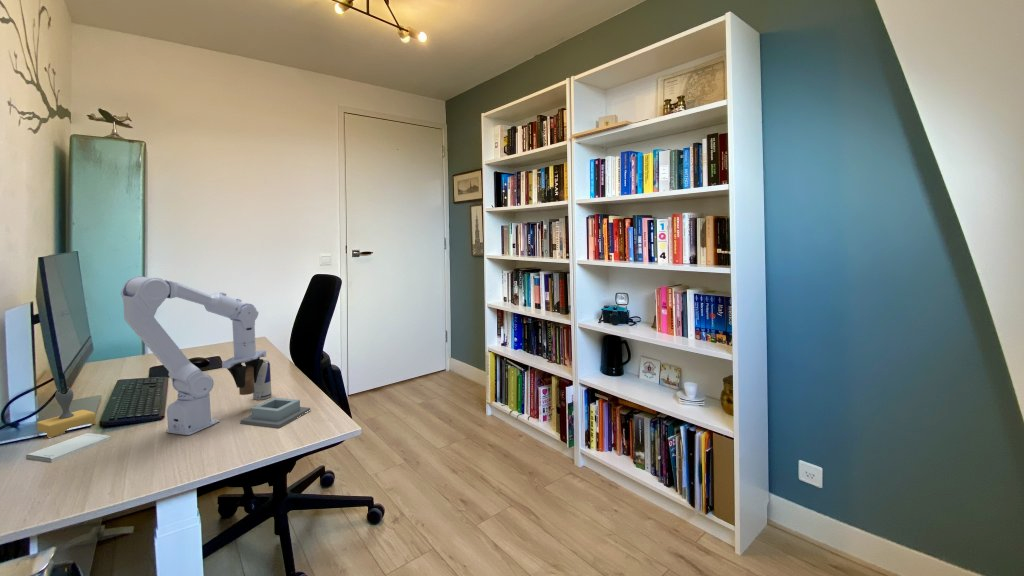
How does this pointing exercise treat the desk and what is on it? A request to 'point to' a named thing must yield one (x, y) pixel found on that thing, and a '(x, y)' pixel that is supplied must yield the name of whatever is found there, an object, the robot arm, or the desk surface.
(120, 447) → the desk surface
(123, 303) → the robot arm
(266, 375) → the energy drink
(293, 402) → the socket block
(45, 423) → the rubber stamp
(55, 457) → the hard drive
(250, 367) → the walnut pin
